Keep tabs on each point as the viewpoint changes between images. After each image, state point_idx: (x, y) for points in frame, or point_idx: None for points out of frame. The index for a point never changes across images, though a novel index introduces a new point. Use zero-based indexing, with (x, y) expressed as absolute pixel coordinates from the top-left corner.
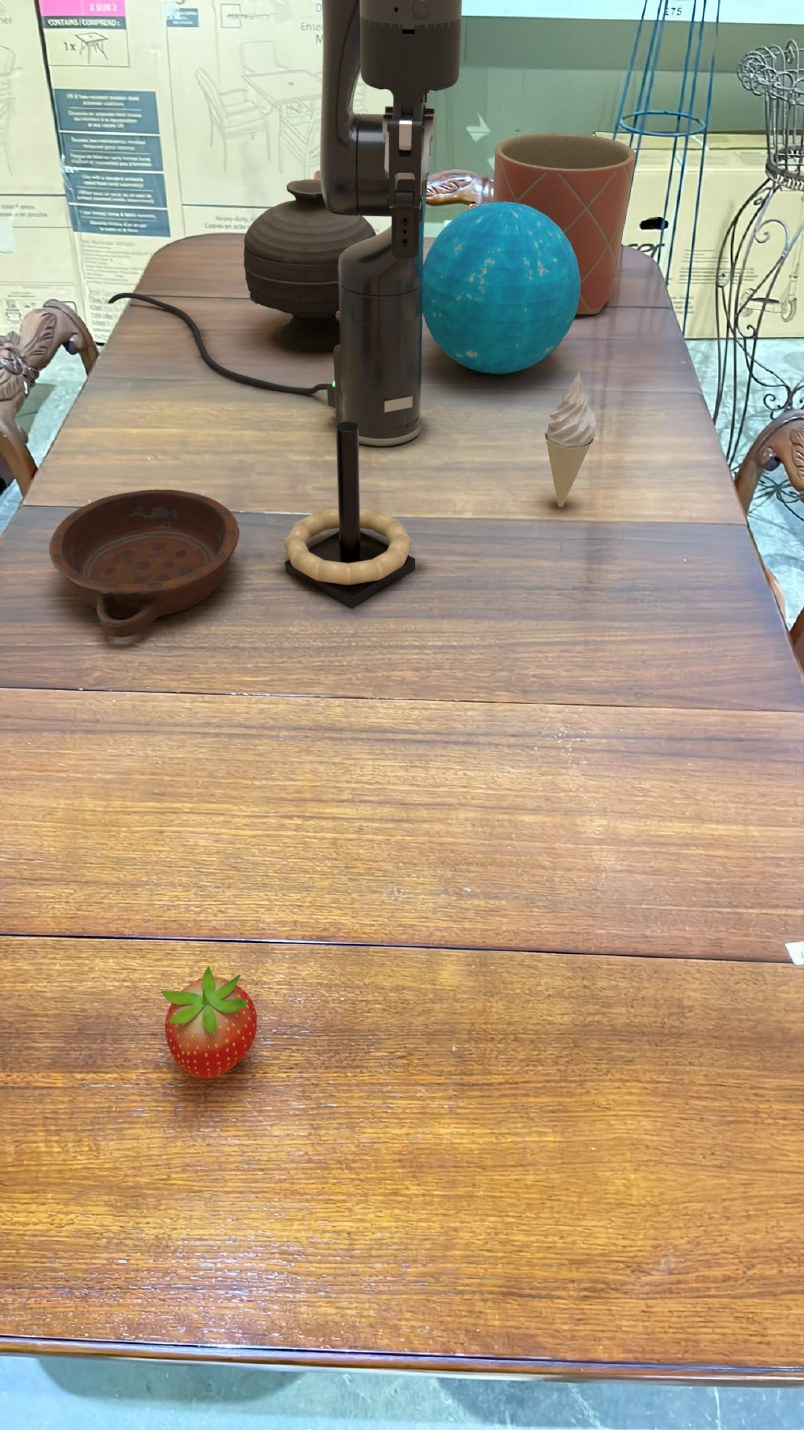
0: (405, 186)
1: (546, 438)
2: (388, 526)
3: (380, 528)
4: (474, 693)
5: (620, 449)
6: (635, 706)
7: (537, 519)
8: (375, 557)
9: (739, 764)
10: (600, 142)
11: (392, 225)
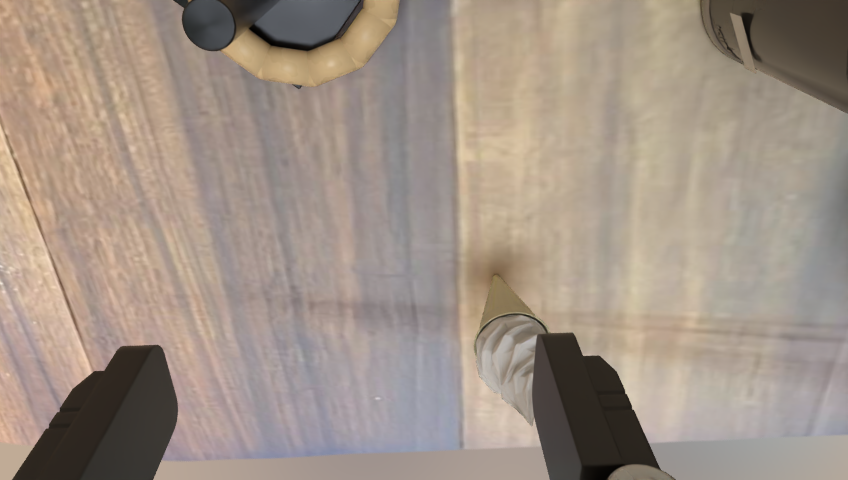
0: (567, 460)
1: (519, 311)
2: (339, 47)
3: (346, 31)
4: (36, 176)
5: (654, 351)
6: (80, 337)
7: (459, 248)
8: (290, 23)
9: (26, 411)
10: None
11: (72, 427)
